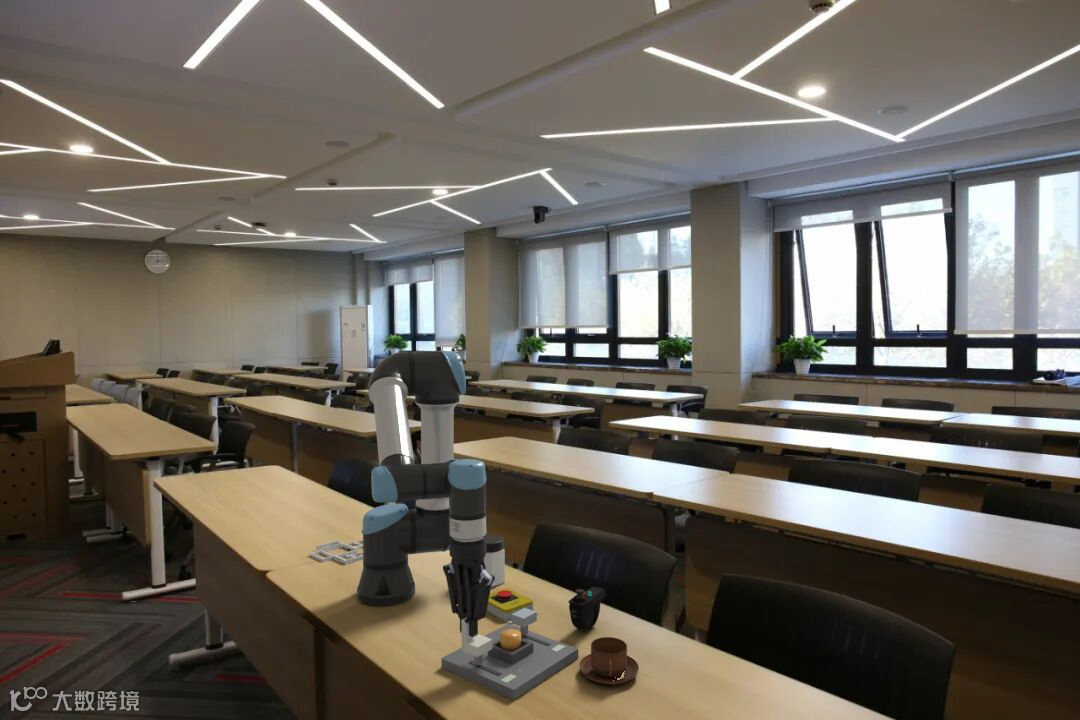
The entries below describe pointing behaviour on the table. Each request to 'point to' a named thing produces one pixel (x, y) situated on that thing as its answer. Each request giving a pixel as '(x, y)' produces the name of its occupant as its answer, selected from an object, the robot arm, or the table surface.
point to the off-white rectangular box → (478, 647)
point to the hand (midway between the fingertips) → (469, 649)
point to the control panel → (512, 663)
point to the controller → (586, 607)
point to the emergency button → (508, 604)
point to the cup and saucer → (608, 662)
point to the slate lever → (524, 619)
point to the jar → (495, 558)
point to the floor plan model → (334, 545)
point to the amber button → (510, 639)
